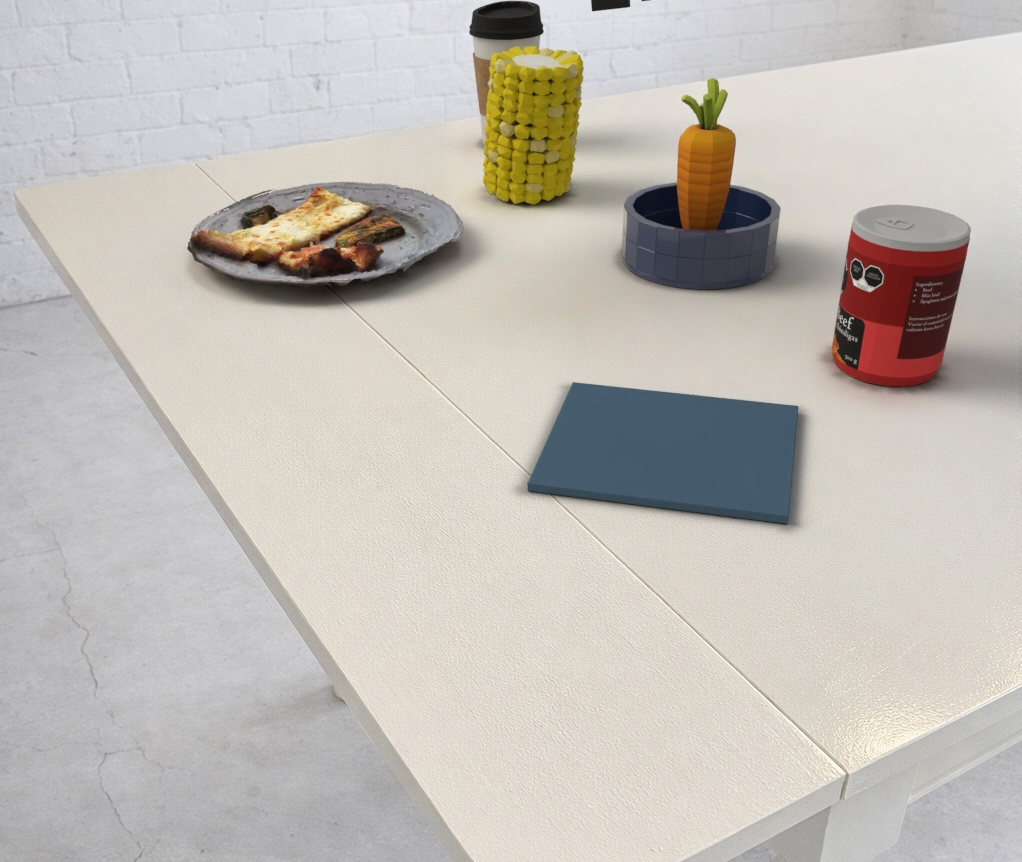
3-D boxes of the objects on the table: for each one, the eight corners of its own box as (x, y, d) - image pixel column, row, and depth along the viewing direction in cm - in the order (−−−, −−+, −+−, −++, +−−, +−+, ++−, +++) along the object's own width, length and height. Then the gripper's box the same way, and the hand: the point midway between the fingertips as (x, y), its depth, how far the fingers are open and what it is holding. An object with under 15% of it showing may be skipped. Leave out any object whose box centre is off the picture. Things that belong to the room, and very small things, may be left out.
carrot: (704, 269, 99) (720, 92, 91) (659, 255, 102) (670, 83, 94) (736, 253, 102) (754, 81, 94) (691, 240, 105) (704, 72, 97)
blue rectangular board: (797, 413, 79) (798, 405, 78) (787, 524, 67) (788, 516, 67) (572, 389, 82) (572, 381, 82) (527, 491, 71) (527, 483, 70)
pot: (777, 239, 106) (784, 186, 104) (768, 295, 95) (775, 238, 93) (634, 228, 109) (637, 177, 106) (610, 282, 98) (612, 226, 95)
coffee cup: (556, 139, 134) (558, 4, 126) (518, 158, 129) (516, 16, 120) (498, 129, 138) (496, -3, 130) (458, 146, 132) (453, 9, 124)
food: (514, 187, 125) (589, 210, 120) (447, 191, 116) (525, 216, 111) (537, 40, 118) (618, 58, 113) (469, 32, 109) (553, 51, 104)
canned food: (835, 336, 89) (857, 199, 82) (941, 350, 86) (973, 210, 80) (823, 379, 83) (847, 234, 76) (938, 395, 80) (971, 247, 74)
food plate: (319, 327, 91) (314, 286, 89) (139, 264, 103) (131, 226, 101) (506, 236, 108) (506, 200, 106) (332, 191, 120) (329, 158, 118)
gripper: (615, -288, 90) (633, 0, 99) (501, -352, 70) (536, 19, 79) (708, -308, 88) (717, -9, 96) (617, -381, 67) (640, 8, 76)
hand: (636, 4), depth 88 cm, fingers open, 13 cm apart
